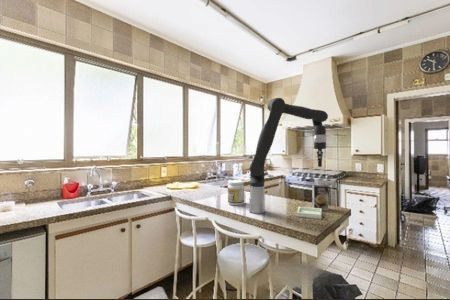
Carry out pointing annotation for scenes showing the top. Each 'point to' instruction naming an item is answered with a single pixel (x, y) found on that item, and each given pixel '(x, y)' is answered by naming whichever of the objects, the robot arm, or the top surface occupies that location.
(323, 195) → the coffee box
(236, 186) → the supplement tub
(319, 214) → the holder tray
